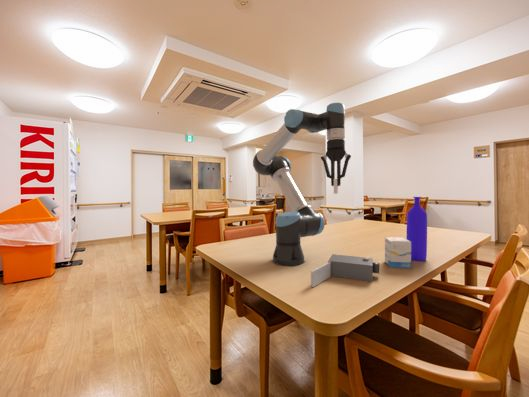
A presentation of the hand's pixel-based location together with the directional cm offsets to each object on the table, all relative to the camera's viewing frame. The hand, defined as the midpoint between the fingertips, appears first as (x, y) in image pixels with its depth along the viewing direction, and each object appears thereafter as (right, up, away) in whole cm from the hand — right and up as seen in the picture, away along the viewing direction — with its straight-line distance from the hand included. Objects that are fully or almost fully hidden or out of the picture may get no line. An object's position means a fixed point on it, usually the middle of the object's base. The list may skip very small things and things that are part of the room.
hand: (335, 193), depth 105 cm
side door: (-11, -33, -16) cm, 39 cm away
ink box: (+28, -32, +1) cm, 43 cm away
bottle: (+42, -32, +9) cm, 53 cm away
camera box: (+4, -33, -10) cm, 35 cm away
